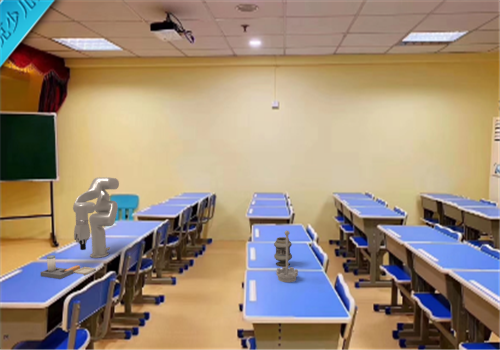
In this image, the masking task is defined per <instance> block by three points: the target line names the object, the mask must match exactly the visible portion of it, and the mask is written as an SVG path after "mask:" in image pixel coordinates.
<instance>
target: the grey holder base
mask: <svg viewBox="0 0 500 350" xmlns="http://www.w3.org/2000/svg"><path fill="white" fill-rule="evenodd" d="M66 269H67V268H65V267H64V268H62V267H56V271H54V272H48V268H47V269H45V270H43V271H40V277H43V278H49V279H50V278H52V279H55V280H57V279H58V280H63V279H64V278H67V277H68V276H69V277H70V276H71V275H73V274H74V272H73V270H68V271H66V272H65V270H66Z"/></svg>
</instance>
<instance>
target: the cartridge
mask: <svg viewBox="0 0 500 350" xmlns="http://www.w3.org/2000/svg"><path fill="white" fill-rule="evenodd" d="M56 261H57V260H56V255H55V254H52V255H47V256H46V262H47V263H46V264H47V269H48V272H54V271H56V266H57V264H56Z"/></svg>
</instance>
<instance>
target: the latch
mask: <svg viewBox="0 0 500 350" xmlns="http://www.w3.org/2000/svg"><path fill="white" fill-rule="evenodd" d="M80 268H81V265H78V264H77V265H74V266H71V267H69V268H65V269H66V270H65V272H66V271H68V270H73V273H74V271H76V270H78V269H80Z"/></svg>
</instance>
